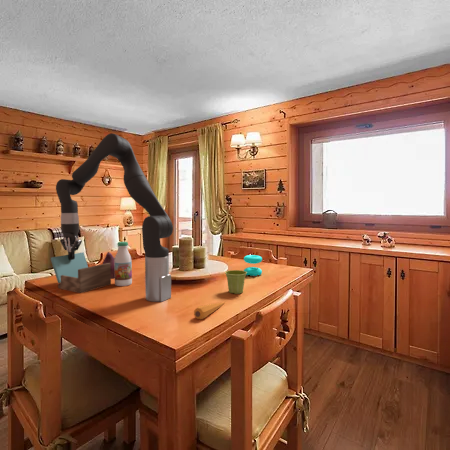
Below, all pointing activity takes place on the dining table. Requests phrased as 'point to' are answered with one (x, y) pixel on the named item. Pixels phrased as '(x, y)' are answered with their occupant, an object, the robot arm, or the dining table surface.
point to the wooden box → (87, 279)
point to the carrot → (206, 310)
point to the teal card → (68, 265)
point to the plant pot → (235, 280)
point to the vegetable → (111, 260)
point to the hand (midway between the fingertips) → (71, 259)
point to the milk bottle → (123, 265)
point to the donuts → (253, 260)
